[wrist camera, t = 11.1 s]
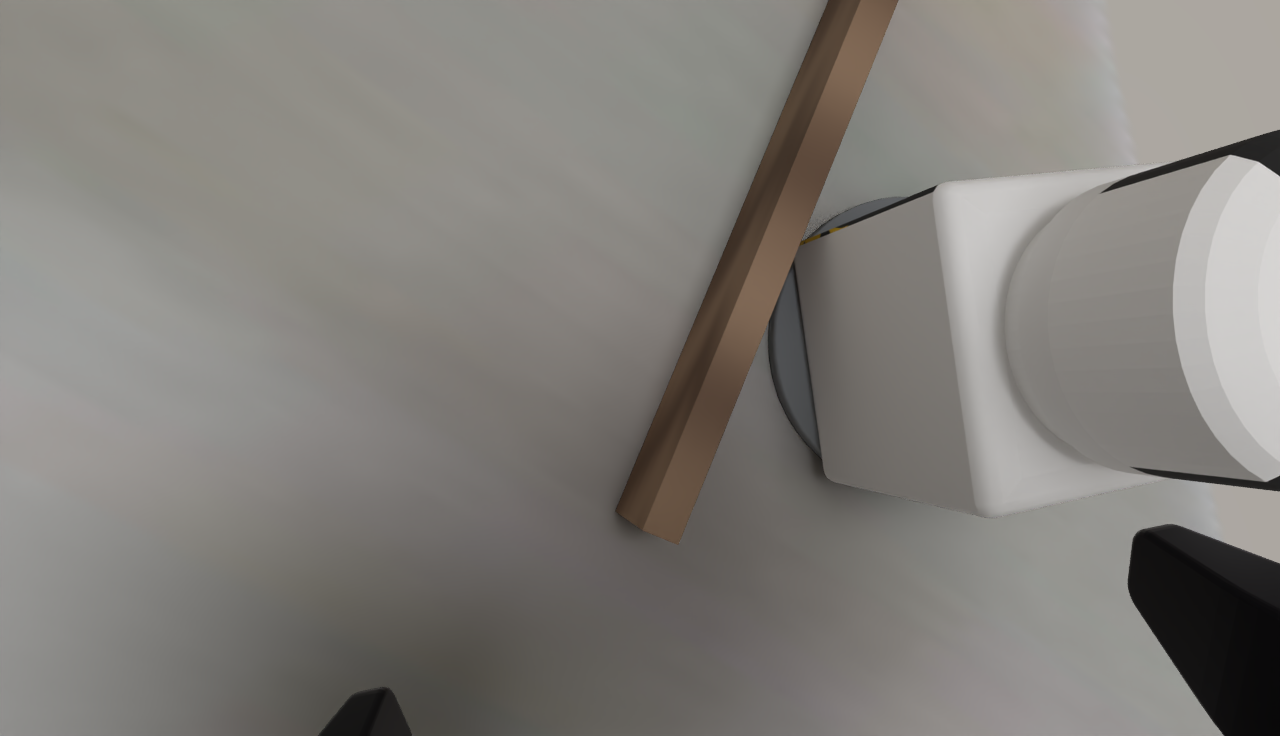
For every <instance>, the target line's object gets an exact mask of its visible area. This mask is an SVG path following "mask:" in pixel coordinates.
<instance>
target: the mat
mask: <svg viewBox="0 0 1280 736" xmlns="http://www.w3.org/2000/svg"><path fill="white" fill-rule="evenodd" d="M905 198H908V197H891V198H884V199H878V200H874V201H871V202H867V203H864V204H861V205H859V206H857V207H854V208H852V209H850V210H848V211H846V212H843V213H841V214H839V215H837V216H835V217H834V218H832V219H831V220H829V221H828V222H826V223H825V224H823V225H822V226H821V227H819V228H818V229H817V230H816V231H815V232H814V233H813V234H811V235H810V236H809V237H808V238H807V239H809V238H811V237H813V236H816V235H818V234H821V233H823V232H825V231H828V230H830V229H833V228H835V227H838V226H840V225H842V224H845V223H847V222H850V221H852V220H854V219H857V218H859V217H862V216H864V215H867V214H869V213H871V212H874V211H876V210H879V209H881V208H883V207H886V206H888V205H891V204H893V203H896V202H898V201H900V200H903V199H905ZM768 341H769V359H770V365H771V370H772V376H773V380H774V383H775V387H776V390H777V393H778V397H779V399H780V401H781V403H782V406H783V408H784V410H785V412H786V415H787V416H788V418H789V420H790V421H791V423H792V424H793V426H794V428H795V429H796V431H797V432H798V433H799V435H800V436H801V437H802V439H803V440H804V441H805V442H806V444H807V445H808V446H809V447H810V448H811V449H812V450H813V451H814V452H815V453H816V454H817V455H818V456H820V457H821V458H822V454H821V447H820V440H819V433H818V426H817V419H816V412H815V405H814V398H813V391H812V384H811V377H810V369H809V362H808V355H807V348H806V341H805V334H804V327H803V320H802V313H801V306H800V299H799V292H798V285H797V278H796V271H795V264H794V260H793V262H792V265H791V267H790V270H789V272H788V275H787V277H786V280H785V282H784V285H783V287H782V290H781V292H780V295H779V297H778V299H777V302H776V304H775V307H774V309H773V312H772V314H771V317H770V323H769V338H768Z"/></svg>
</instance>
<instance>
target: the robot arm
mask: <svg viewBox="0 0 1280 736" xmlns="http://www.w3.org/2000/svg"><path fill="white" fill-rule="evenodd" d="M1128 590H1129V593H1130V597H1131V599H1132V601H1133V603H1134V605H1135V606H1136V608H1137V609H1138V611H1139V612H1140V614H1141V615H1142V617H1143V618H1144V620H1145V621H1146V623H1147V624H1148V626H1149V627H1150V629H1151V630H1152V632H1153V633H1154V635H1155V636H1156V638H1157V639H1158V641H1159V642H1160V644H1161V645H1162V647H1163V648H1164V650H1165V651H1166V653H1167V654H1168V656H1169V657H1170V659H1171V660H1172V662H1173V663H1174V665H1175V666H1176V668H1177V669H1178V671H1179V672H1180V674H1181V675H1182V677H1183V678H1184V680H1185V681H1186V683H1187V684H1188V686H1189V687H1190V689H1191V690H1192V692H1193V693H1194V695H1195V696H1196V698H1197V699H1198V701H1199V702H1200V704H1201V705H1202V707H1203V708H1204V709H1205V711H1206V712H1207V714H1208V715H1209V716H1210V718H1211V719H1212V721H1213V722H1214V723H1215V725H1216V726H1217V727H1218V728H1219V730H1220V731H1221V732H1222V734H1223V735H1224V736H1280V563H1277V562H1274V561H1272V560H1269V559H1266V558H1263V557H1261V556H1258V555H1256V554H1253V553H1250V552H1248V551H1245V550H1242V549H1240V548H1237V547H1234V546H1232V545H1229V544H1227V543H1224V542H1221V541H1219V540H1216V539H1213V538H1211V537H1208V536H1205V535H1203V534H1200V533H1197V532H1195V531H1192V530H1189V529H1187V528H1184V527H1181V526H1178V525H1174V524H1166V525H1161V526H1156V527H1151V528H1147V529H1142V530H1140V531H1138V532H1137V533H1136V534H1135V536H1134V537H1133V541H1132V550H1131V558H1130V566H1129V574H1128ZM318 736H412V733H411V731H410V728H409V726H408V724H407V722H406V719H405V717H404V715H403V713H402V710H401V708H400V706H399V704H398V702H397V699H396V697H395V695H394V693H393V692H392V690H390V689H389V688H387V687H380V688H375V689H370V690H365V691H360V692H357V693H355V694H353V695H352V696H351V697H350V698H349V699H348V700H347V701H346V702H345V703H344V705H343V706H342V707H341V708H340V709H339V711H338V712H337V713H336V714H335V716H334V717H333V718H332V719H331V720H330V722H329V723H328V724H327V725H326V726H325V728H324V729H323V730H322V731H321V732H320V734H319V735H318Z"/></svg>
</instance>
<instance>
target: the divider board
mask: <svg viewBox="0 0 1280 736" xmlns="http://www.w3.org/2000/svg"><path fill="white" fill-rule="evenodd" d="M897 3H898V0H829V1H828V4H827V6H826V8H825V11H824V13H823V16H822V18H821V20H820V23H819V25H818V28H817V30H816V32H815V35H814V37H813V39H812V42H811V44H810V47H809V49H808V51H807V54H806V56H805V59H804V61H803V63H802V66H801V68H800V71H799V73H798V75H797V78H796V80H795V83H794V85H793V87H792V90H791V92H790V95H789V97H788V99H787V102H786V104H785V106H784V109H783V111H782V114H781V116H780V118H779V121H778V123H777V126H776V128H775V130H774V133H773V135H772V138H771V140H770V142H769V145H768V147H767V150H766V152H765V154H764V157H763V159H762V162H761V164H760V166H759V169H758V171H757V173H756V176H755V178H754V181H753V183H752V185H751V188H750V190H749V193H748V195H747V197H746V200H745V202H744V205H743V207H742V209H741V212H740V214H739V217H738V219H737V221H736V224H735V226H734V229H733V231H732V233H731V236H730V238H729V240H728V243H727V245H726V248H725V250H724V252H723V255H722V257H721V260H720V262H719V264H718V267H717V269H716V272H715V274H714V276H713V279H712V281H711V284H710V286H709V288H708V291H707V293H706V296H705V298H704V300H703V303H702V305H701V307H700V310H699V312H698V315H697V317H696V319H695V322H694V324H693V327H692V329H691V331H690V334H689V336H688V339H687V341H686V343H685V346H684V348H683V351H682V353H681V355H680V358H679V360H678V363H677V365H676V367H675V370H674V372H673V374H672V377H671V379H670V382H669V384H668V386H667V389H666V391H665V394H664V396H663V398H662V401H661V403H660V406H659V408H658V410H657V413H656V415H655V418H654V420H653V422H652V425H651V427H650V430H649V432H648V434H647V437H646V439H645V441H644V444H643V446H642V449H641V451H640V453H639V456H638V458H637V461H636V463H635V465H634V468H633V470H632V473H631V475H630V477H629V480H628V482H627V485H626V487H625V489H624V492H623V494H622V497H621V499H620V501H619V504H618V506H617V508H616V511H615V512H617V513H618V514H620V515H621V516H623V517H624V518H625V519H627V520H628V521H630V522H631V523H633V524H634V525H635V526H637V527H638V528H640V529H641V530H643V531H645V532H648V533H650V534H652V535H655V536H657V537H660V538H662V539H665V540H667V541H670V542H672V543H675V544H677V545H678V544H679V542H680V539H681V537H682V535H683V532H684V530H685V527H686V525H687V522H688V520H689V517H690V515H691V512H692V510H693V507H694V505H695V502H696V500H697V497H698V495H699V492H700V490H701V488H702V485H703V483H704V480H705V478H706V475H707V473H708V470H709V468H710V465H711V463H712V460H713V458H714V455H715V453H716V450H717V448H718V445H719V443H720V440H721V438H722V436H723V433H724V431H725V428H726V426H727V423H728V421H729V418H730V416H731V413H732V411H733V408H734V406H735V403H736V401H737V398H738V396H739V393H740V391H741V389H742V386H743V384H744V381H745V379H746V376H747V374H748V371H749V369H750V366H751V364H752V361H753V359H754V356H755V354H756V351H757V349H758V346H759V344H760V342H761V339H762V337H763V334H764V332H765V329H766V327H767V324H768V322H769V319H770V317H771V314H772V312H773V309H774V307H775V304H776V302H777V299H778V297H779V295H780V292H781V290H782V287H783V285H784V282H785V280H786V277H787V275H788V272H789V270H790V267H791V265H792V262H793V260H794V257H795V255H796V252H797V250H798V247H799V245H800V243H801V240H802V238H803V235H804V233H805V230H806V228H807V225H808V223H809V220H810V218H811V215H812V213H813V210H814V208H815V205H816V203H817V200H818V198H819V196H820V193H821V191H822V188H823V186H824V183H825V181H826V178H827V176H828V173H829V171H830V168H831V166H832V163H833V161H834V158H835V156H836V153H837V151H838V149H839V146H840V144H841V141H842V139H843V136H844V134H845V131H846V129H847V126H848V124H849V121H850V119H851V116H852V114H853V111H854V109H855V106H856V104H857V102H858V99H859V97H860V94H861V92H862V89H863V87H864V84H865V82H866V79H867V77H868V74H869V72H870V69H871V67H872V64H873V62H874V59H875V57H876V54H877V52H878V50H879V47H880V45H881V42H882V40H883V37H884V35H885V32H886V30H887V27H888V25H889V22H890V20H891V17H892V15H893V12H894V10H895V7H896V5H897Z"/></svg>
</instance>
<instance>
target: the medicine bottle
mask: <svg viewBox="0 0 1280 736" xmlns="http://www.w3.org/2000/svg"><path fill="white" fill-rule="evenodd" d="M794 264H795V271H796V278H797V285H798V292H799V299H800V306H801V313H802V320H803V327H804V334H805V341H806V348H807V355H808V362H809V369H810V377H811V384H812V391H813V398H814V405H815V412H816V419H817V426H818V433H819V440H820V447H821V454H822V461H823V468H824V473H825V475H826V477H827V478H828V479H830V480H831V481H832V482H835V483H839V484H844V485H848V486H852V487H856V488H861V489H865V490H869V491H873V492H878V493H882V494H886V495H890V496H895V497H899V498H903V499H908V500H912V501H916V502H920V503H925V504H929V505H933V506H937V507H942V508H946V509H950V510H954V511H959V512H963V513H967V514H971V515H976V516H980V517H984V518H997V517H1002V516H1007V515H1011V514H1015V513H1020V512H1024V511H1029V510H1033V509H1037V508H1042V507H1046V506H1051V505H1055V504H1059V503H1064V502H1068V501H1073V500H1077V499H1082V498H1086V497H1090V496H1095V495H1099V494H1104V493H1108V492H1112V491H1117V490H1121V489H1126V488H1130V487H1135V486H1139V485H1143V484H1148V483H1152V482H1157V481H1161V480H1165V479H1170V478H1173V479H1181V480H1189V481H1198V482H1206V483H1214V484H1224V485H1231V486H1239V487H1247V488H1256V489H1264V490H1272V491H1280V130H1277V131H1273V132H1270V133H1266V134H1263V135H1260V136H1256V137H1253V138H1250V139H1247V140H1243V141H1240V142H1237V143H1234V144H1231V145H1228V146H1224V147H1221V148H1218V149H1215V150H1211V151H1208V152H1205V153H1202V154H1199V155H1195V156H1192V157H1189V158H1186V159H1183V160H1179V161H1172V162H1161V163H1150V164H1138V165H1127V166H1116V167H1105V168H1094V169H1083V170H1072V171H1061V172H1050V173H1039V174H1027V175H1016V176H1005V177H994V178H983V179H972V180H961V181H950V182H944V183H941V184H939V185H937V186H934V187H932V188H929V189H927V190H925V191H922V192H920V193H917V194H915V195H912V196H910V197H908V198H905V199H903V200H900V201H898V202H896V203H893V204H891V205H888V206H886V207H883V208H881V209H879V210H876V211H874V212H871V213H869V214H867V215H864V216H862V217H859V218H857V219H854V220H852V221H850V222H847V223H845V224H842V225H840V226H838V227H835V228H833V229H830V230H828V231H825V232H823V233H821V234H818V235H816V236H813V237H811V238H809V239H806V240H804V241H801V243H800V245H799V247H798V250H797V252H796V255H795V257H794Z"/></svg>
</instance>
